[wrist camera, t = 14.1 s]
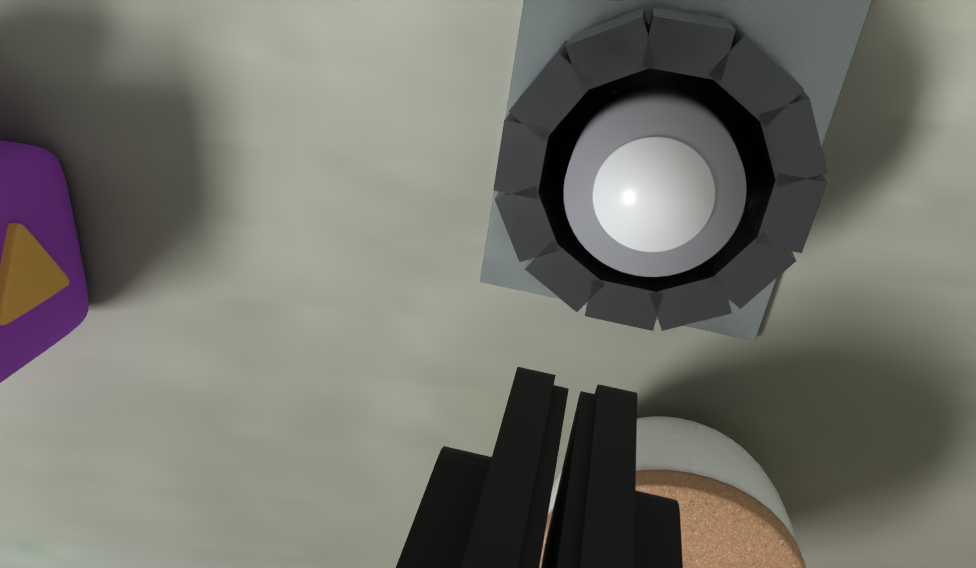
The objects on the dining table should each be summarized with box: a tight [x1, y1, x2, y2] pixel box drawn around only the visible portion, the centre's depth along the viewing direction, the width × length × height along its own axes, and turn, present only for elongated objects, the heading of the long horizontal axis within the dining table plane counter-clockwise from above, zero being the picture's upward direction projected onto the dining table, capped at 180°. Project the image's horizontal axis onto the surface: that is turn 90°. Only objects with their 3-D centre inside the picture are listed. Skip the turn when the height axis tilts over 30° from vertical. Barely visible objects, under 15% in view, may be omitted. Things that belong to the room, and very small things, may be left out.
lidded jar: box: [539, 416, 806, 568], centre depth 33 cm, size 11×11×9 cm
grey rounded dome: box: [564, 83, 746, 277], centre depth 28 cm, size 6×6×4 cm
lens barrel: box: [480, 0, 872, 341], centre depth 29 cm, size 14×12×4 cm
